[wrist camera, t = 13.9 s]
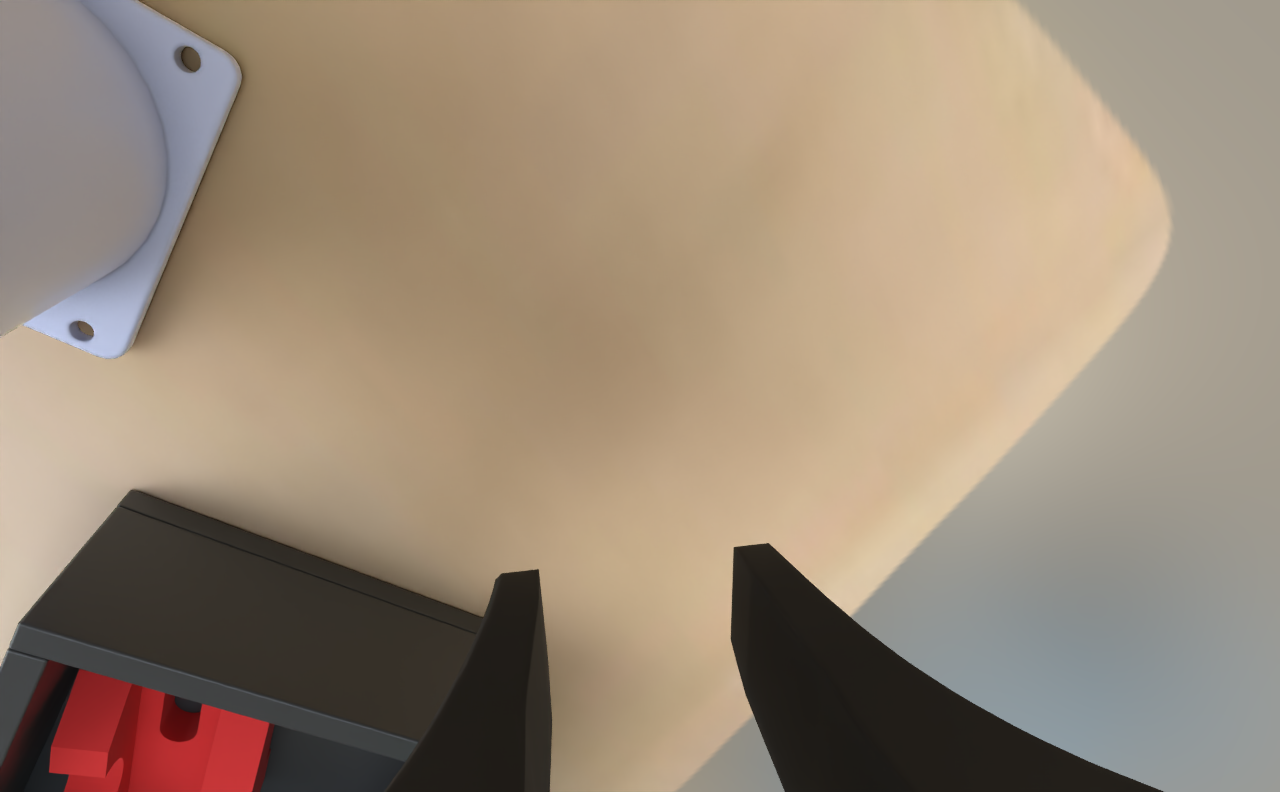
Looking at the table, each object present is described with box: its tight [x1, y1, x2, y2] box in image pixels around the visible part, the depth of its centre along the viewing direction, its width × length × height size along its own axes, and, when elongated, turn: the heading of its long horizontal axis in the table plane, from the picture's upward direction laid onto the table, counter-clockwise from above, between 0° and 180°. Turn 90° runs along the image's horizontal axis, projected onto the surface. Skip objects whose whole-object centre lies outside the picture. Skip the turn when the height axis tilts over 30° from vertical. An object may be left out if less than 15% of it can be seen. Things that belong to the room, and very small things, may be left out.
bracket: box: [49, 669, 275, 792], centre depth 22 cm, size 6×5×3 cm
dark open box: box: [0, 490, 483, 792], centre depth 22 cm, size 12×13×5 cm
